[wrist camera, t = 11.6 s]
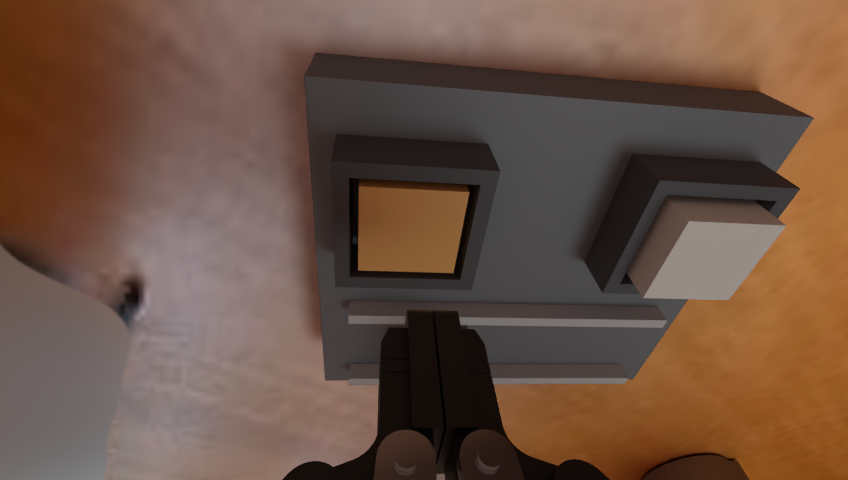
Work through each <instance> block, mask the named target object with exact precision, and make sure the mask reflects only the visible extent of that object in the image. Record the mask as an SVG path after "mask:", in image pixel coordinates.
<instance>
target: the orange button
mask: <svg viewBox="0 0 848 480" xmlns="http://www.w3.org/2000/svg"><path fill="white" fill-rule="evenodd" d="M468 197H469V189H468V186H467V184H454V183H436V182H417V181H399V180H380V179H362V178H360V180H359V226H358V270H359V271H395V272H430V273H454V268H455V263H456V258H457V253H458V248H459V243H460V238H461V233H462V228H463V223H464V217H465V212H466V207H467V202H468Z"/></svg>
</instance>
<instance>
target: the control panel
mask: <svg viewBox="0 0 848 480" xmlns="http://www.w3.org/2000/svg"><path fill="white" fill-rule="evenodd" d="M304 79H305V94H306V108H307V123H308V137H309V152H310V166H311V181H312V195H313V210H314V224H315V239H316V254H317V268H318V283H319V297H320V312H321V326H322V341H323V355H324V370H325V380H349V385H379V366H380V352H381V341H382V339H383V337H384V336H385V334H386V332H387V330H388V328H389V327H395V328H404V327H405V318H406V311H407V309H411V310H431V311H432V310H450V311H458V314H459V319H460V325H467V327H468V329H475V331H476V332H477V333H478V335H479V336H480V338H481V339H482V341H483V342H484V343H485V348H486V352H487V357H488V363H489V366H490V371H491V376H492V380H493V384H625V382H626V381H627V379H633V378H634V377H635V375H636V374H637V372H638V371H639V370H640V368H641V367H642V365H643V364H644V362H645V361H646V359H647V358H648V357H649V355H650V354H651V352H652V351H653V349H654V348H655V346H656V345H657V344H658V342H659V341H660V339H661V338H662V336H663V335H664V333H665V332H666V331H667V329H668V328H669V326H670V325H671V323H672V322H673V321H674V319H675V318H676V316H677V315H678V313H679V312H680V310H681V309H682V308H683V306H684V305H685V303H686V302H687V300H688V299H659V298H643V297H642V296H641V294H640V293H639V291H638V290H637V288H636V287H635V285H634V284H633V282H632V281H631V279H630V278H629V276H628V275H627V273H626V271H627V270H628V268H629V266H630V264H631V262H632V260H633V258H634V256H635V255H636V253H637V251H638V249H639V247H640V245H641V243H642V242H643V240H644V238H645V236H646V234H647V232H648V230H649V228H650V227H651V225H652V223H653V221H654V219H655V217H656V215H657V213H658V212H659V210H660V208H661V206H662V204H663V202H664V200H665V199H666V197H667V195H673V196H691V197H709V198H728V199H746V200H754V201H756V202H757V203H758V204H759V205H761V206H762V207H763V208H764V209H766V210H767V211H768V212H770V213H771V214H772V215H773V216H775V217H776V218H777V219H778V218H779V216H780V215H781V214H782V212H783V211H784V210H785V208H786V207H787V206H788V204H789V203H790V202H791V200H792V199H793V198H794V196H795V195H796V194H797V192H798V191H799V190H800V188H798V187H797V186H795V185H794V184H792V183H791V182H789V181H788V180H786V179H785V178H783V177H782V176H781V175H779V174H778V173H776V172H777V170H778V169H779V168H780V166H781V165H782V163H783V162H784V160H785V159H786V157H787V156H788V155H789V153H790V152H791V150H792V149H793V147H794V146H795V144H796V143H797V142H798V140H799V139H800V137H801V136H802V134H803V133H804V131H805V130H806V129H807V127H808V126H809V124H810V123H811V121H812V120H813V117H811V116H809V115H807V114H805V113H803V112H801V111H799V110H797V109H795V108H792V107H790V106H788V105H786V104H784V103H782V102H780V101H778V100H776V99H774V98H772V97H770V96H767V95H765V94H763V93H760V92H749V91H738V90H726V89H715V88H704V87H693V86H681V85H670V84H659V83H647V82H636V81H625V80H614V79H602V78H591V77H580V76H569V75H557V74H546V73H535V72H523V71H512V70H501V69H490V68H478V67H467V66H456V65H444V64H433V63H422V62H411V61H399V60H388V59H377V58H365V57H354V56H343V55H332V54H320V53H315V55H314V57H313V59H312V61H311V64H310V66H309V68H308V70H307V72H306V74H305V76H304ZM360 178H362V179H380V180H399V181H417V182H436V183H454V184H467V186H468V189H469V197H468V202H467V207H466V212H465V217H464V223H463V228H462V233H461V238H460V243H459V248H458V253H457V258H456V263H455V268H454V273H430V272H395V271H359V270H358V226H359V180H360Z"/></svg>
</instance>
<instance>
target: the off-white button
mask: <svg viewBox="0 0 848 480" xmlns="http://www.w3.org/2000/svg"><path fill="white" fill-rule="evenodd" d="M785 227H786V225H785V224H784V223H782V222H781V221H780V220H779V219H777V218H776V217H775V216H773V215H772V214H771V213H770V212H768V211H767V210H766V209H764V208H763V207H762V206H761V205H759V204H758V203H757V202H756V201H754V200H746V199H728V198H709V197H691V196H673V195H667V197H666V199H665V200H664V202H663V204H662V206H661V208H660V210H659V212H658V213H657V215H656V217H655V219H654V221H653V223H652V225H651V227H650V228H649V230H648V232H647V234H646V236H645V238H644V240H643V242H642V243H641V245H640V247H639V249H638V251H637V253H636V255H635V256H634V258H633V260H632V262H631V264H630V266H629V268H628V270H627V271H626V273H627V275H628V276H629V278H630V279H631V281H632V282H633V284H634V285H635V287H636V288H637V290H638V291H639V293H640V294H641V296H642V297H643V298H659V299H705V300H729V299H730V298H731V296H732V295H733V294H734V292H735V291H736V290H737V289H738V287H739V286H740V285H741V283H742V282H743V281H744V280H745V278H746V277H747V276H748V274H749V273H750V272H751V271H752V269H753V268H754V267H755V265H756V264H757V263H758V262H759V260H760V259H761V258H762V256H763V255H764V254H765V253H766V251H767V250H768V249H769V247H770V246H771V245H772V244H773V242H774V241H775V240H776V238H777V237H778V236H779V235H780V233H781V232H782V231H783V229H784V228H785Z"/></svg>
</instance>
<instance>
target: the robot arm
mask: <svg viewBox="0 0 848 480" xmlns="http://www.w3.org/2000/svg"><path fill="white" fill-rule="evenodd" d="M437 474H445V480H609V479H608V478H607V477H606V476H605V475H604V474H603V473H602V472H601V471H600V470H598V469H597V468H596V467H595V466H593V465H591V464H590V463H587V462H585V461H582V460H576V459H573V460H567V461H565V462H563V463H561V464H560V465H559V466H556V465H554V464H551V463H548V462H545V461H542V460H539V459H536V458H533V457H531V456H528V455H526V454H524V453H523V452H521V451H520V450H519V449H517V448H516V447H515V446H514V445H513V444H512V443H511V441H510V440H509V439H508V437H507V435H506V433H505V431H504V429H503V425H502V421H501V416H500V412H499V407H498V403H497V398H496V394H495V389H494V384H493V380H492V376H491V371H490V366H489V363H488V357H487V352H486V348H485V343H484V342H483V341H482V339H481V338H480V336H479V335H478V333H477V332H476V331H475V329H461V325H460V319H459V314H458V311H450V310H432V311H431V310H411V309H407V311H406V318H405V327H404V328H395V327H389V328H388V330H387V332H386V334H385V336H384V337H383V339H382V341H381V352H380V366H379V393H378V429H377V437H376V440H375V441H374V443H373V445H372V446H371V447H370V448H369V450H368V451H366V452H365V453H364V454H363V455H361V456H360V457H358V458H356V459H354V460H351V461H348V462H346V463H343V464H340V465H338V466H335V467H332V466H331V465H329V464H327V463H324V462H320V461H312V462H307V463H304V464H301V465H299V466H297V467H296V468H294V469H293V470H292V471H291V472H289V473H288V474H287V475H286V476H285V477H284V479H283V480H437ZM643 480H749V478H748V477H747V475H746V473H745V472H744V470H743V469H742V467H741V466H740V464H739V463H738V461H729V460H727V459H726V458H724V457H721V456H716V455H700V456H692V457H687V458H682V459H679V460H675V461H672V462H670V463H667V464H664V465H662V466H660V467H658V468H656V469H655V470H653V471H651V472H650V473H649V474H647V475H646V476H645V477H644V479H643Z"/></svg>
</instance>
